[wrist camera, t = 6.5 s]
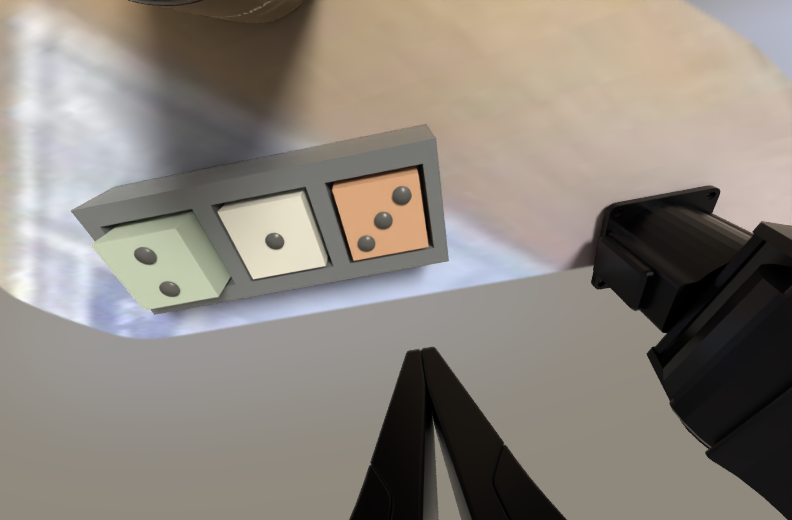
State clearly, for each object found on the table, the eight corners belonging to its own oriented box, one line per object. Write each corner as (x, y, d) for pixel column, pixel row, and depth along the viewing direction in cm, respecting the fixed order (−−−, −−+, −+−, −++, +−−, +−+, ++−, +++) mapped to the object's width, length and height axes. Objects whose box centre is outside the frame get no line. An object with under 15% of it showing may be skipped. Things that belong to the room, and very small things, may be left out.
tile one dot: (309, 177, 17) (299, 196, 15) (330, 242, 19) (325, 266, 17) (235, 191, 17) (216, 212, 15) (265, 254, 19) (252, 280, 17)
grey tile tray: (426, 124, 17) (436, 137, 14) (439, 234, 20) (448, 261, 18) (113, 187, 17) (70, 210, 15) (180, 282, 21) (154, 314, 19)
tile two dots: (200, 205, 16) (174, 229, 14) (235, 268, 19) (217, 297, 16) (125, 220, 17) (88, 246, 14) (169, 281, 19) (143, 311, 17)
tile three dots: (412, 157, 17) (418, 173, 15) (422, 224, 19) (428, 247, 17) (337, 172, 17) (332, 190, 15) (355, 237, 19) (353, 261, 17)
